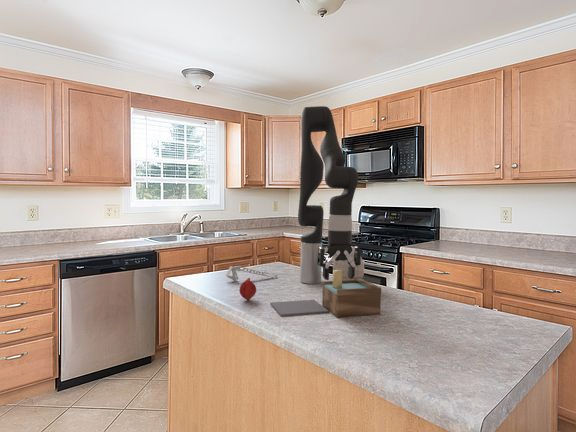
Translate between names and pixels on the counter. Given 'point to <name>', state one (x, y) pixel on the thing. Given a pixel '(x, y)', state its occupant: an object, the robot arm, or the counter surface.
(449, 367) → the counter surface
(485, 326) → the counter surface
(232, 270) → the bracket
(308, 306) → the mat
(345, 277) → the vase
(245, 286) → the red oval lump
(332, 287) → the thin pale-blue panel
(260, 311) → the counter surface
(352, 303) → the box
